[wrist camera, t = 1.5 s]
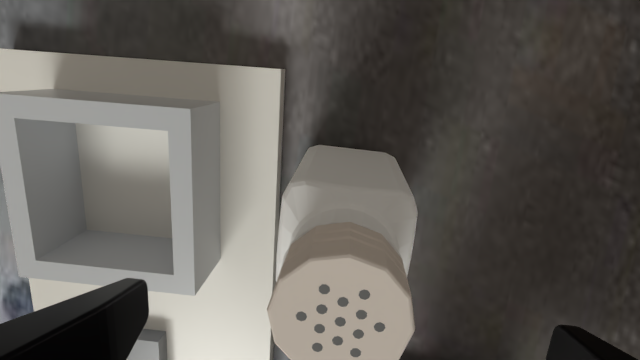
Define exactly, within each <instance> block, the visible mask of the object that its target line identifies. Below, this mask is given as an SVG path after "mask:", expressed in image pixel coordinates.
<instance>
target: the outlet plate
mask: <svg viewBox="0 0 640 360" xmlns="http://www.w3.org/2000/svg"><path fill="white" fill-rule="evenodd" d="M284 89H285V69H276V68H262V67H248V66H235V65H221V64H207V63H193V62H180V61H166V60H152V59H138V58H125V57H111V56H97V55H84V54H70V53H56V52H42V51H29V50H15V49H0V165H1V171H2V177H3V183H4V189H5V195H6V201H7V207H8V213H9V219H10V225H11V231H12V237H13V243H14V249H15V255H16V261H17V267H18V273H19V277H26V278H29V283H30V289H31V296H32V302H33V308H34V312H35V311H37V310H40V309H43V308H46V307H48V306H51V305H54V304H56V303H59V302H62V301H65V300H67V299H70V298H73V297H76V296H78V295H81V294H84V293H87V292H89V291H92V290H95V289H98V288H100V287H103V286H106V285H109V284H111V283H114V282H117V281H119V280H122V279H125V278H135V279H143V280H145V281H146V283H147V287H148V303H149V316H148V319H147V322H146V324H145V326H144V328H143V330H142V332H141V334H140V336H139V337H138V339H137V341H136V343H135V345H134V347H133V349H132V351H131V352H130V354H129V356H128V358H127V360H273V348H274V339H273V335H272V330H271V326H270V321H269V317H268V312H267V307H268V304H269V302H270V299H271V296H272V293H273V291H274V288H275V285H276V258H277V242H278V230H279V207H280V183H281V160H282V136H283V113H284Z"/></svg>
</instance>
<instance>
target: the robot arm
mask: <svg viewBox="0 0 640 360" xmlns="http://www.w3.org/2000/svg"><path fill="white" fill-rule="evenodd" d="M148 316H149V303H148V287H147V283H146V281H145V280H143V279H135V278H125V279H122V280H119V281H117V282H114V283H111V284H109V285H106V286H103V287H100V288H98V289H95V290H92V291H89V292H87V293H84V294H81V295H78V296H76V297H73V298H70V299H67V300H65V301H62V302H59V303H56V304H54V305H51V306H48V307H46V308H43V309H40V310H37V311H35V312H32V313H29V314H26V315H24V316H21V317H18V318H15V319H13V320H10V321H7V322H4V323H2V324H0V360H127V358H128V356H129V354H130V352H131V351H132V349H133V347H134V345H135V343H136V341H137V339H138V337H139V336H140V334H141V332H142V330H143V328H144V326H145V324H146V322H147V319H148ZM546 360H638V359H636V358H634V357H632V356H631V355H629V354H627V353H625V352H623V351H622V350H620V349H618V348H616V347H614V346H613V345H611V344H609V343H607V342H605V341H604V340H602V339H600V338H598V337H596V336H594V335H593V334H591V333H589V332H587V331H585V330H584V329H582V328H580V327H577V326H569V325H558V326H556V327H555V329H554V331H553V334H552V338H551V341H550V345H549V348H548V352H547V356H546Z"/></svg>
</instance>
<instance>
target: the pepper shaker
mask: <svg viewBox="0 0 640 360" xmlns="http://www.w3.org/2000/svg"><path fill="white" fill-rule="evenodd" d="M417 215H418V211H417V207H416V203H415V200H414V196H413V194H412V192H411V190H410V188H409V186H408V184H407V182H406V180H405V178H404V175H403V173H402V171H401V169H400V167H399V165H398V163H397V161H396V159H395V158H394V157H393V156H391V155H389V154H387V153H385V152H377V151H369V150H360V149H351V148H343V147H334V146H326V145H316V146H313V147H309V148H308V150H307V152H306V153H305V155H304V157H303V159H302V161H301V162H300V164H299V166H298V168H297V170H296V171H295V173H294V175H293V177H292V179H291V180H290V182H289V184H288V186H287V188H286V189H285V191H284V193H283V195H282V202H281V211H280V220H279V231H278V242H277V258H276V285H275V288H274V291H273V293H272V296H271V299H270V302H269V304H268V307H267V312H268V317H269V321H270V326H271V330H272V335H273V339H274V342H275V344H276V345H277V346H278V347H279V348H280V349H281V350H282V351H283V352H284V353H285V354H286V355H287V357H288V358H289V359H290V360H399V359H400V357H401V355H402V353H403V351H404V350H405V348H406V346H407V344H408V342H409V340H410V339H411V337H412V335H413V333H414V331H415V322H414V313H413V304H412V295H411V291H410V288H409V284H408V280H407V275H408V270H409V266H410V261H411V256H412V250H413V244H414V238H415V230H416V222H417Z"/></svg>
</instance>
